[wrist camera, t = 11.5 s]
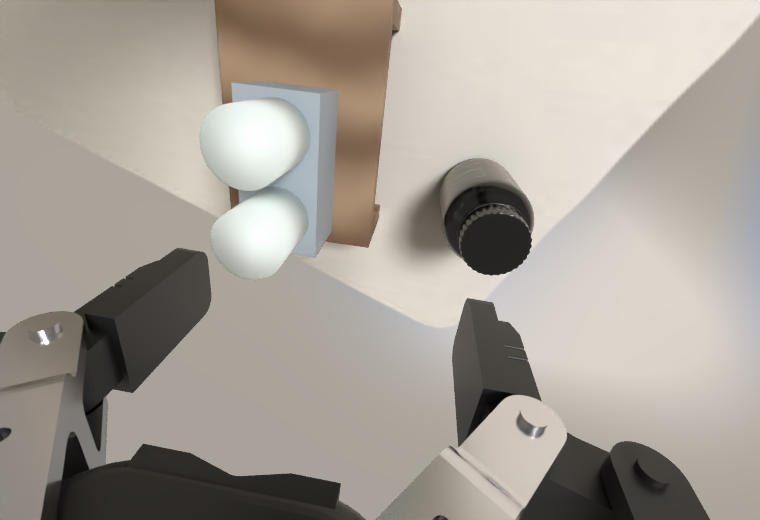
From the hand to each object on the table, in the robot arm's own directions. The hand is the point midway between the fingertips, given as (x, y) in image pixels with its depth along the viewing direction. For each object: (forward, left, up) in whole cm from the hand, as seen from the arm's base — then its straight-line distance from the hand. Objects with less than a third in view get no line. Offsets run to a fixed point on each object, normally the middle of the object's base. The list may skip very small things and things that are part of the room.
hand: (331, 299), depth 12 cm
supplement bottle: (+3, +8, -27) cm, 28 cm away
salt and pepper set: (+1, -7, -19) cm, 21 cm away
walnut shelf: (-2, -7, -26) cm, 27 cm away
